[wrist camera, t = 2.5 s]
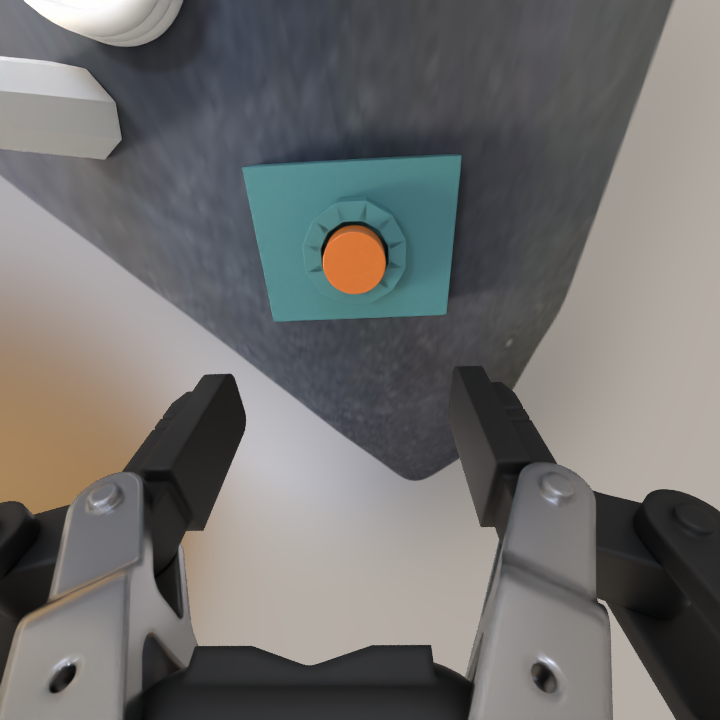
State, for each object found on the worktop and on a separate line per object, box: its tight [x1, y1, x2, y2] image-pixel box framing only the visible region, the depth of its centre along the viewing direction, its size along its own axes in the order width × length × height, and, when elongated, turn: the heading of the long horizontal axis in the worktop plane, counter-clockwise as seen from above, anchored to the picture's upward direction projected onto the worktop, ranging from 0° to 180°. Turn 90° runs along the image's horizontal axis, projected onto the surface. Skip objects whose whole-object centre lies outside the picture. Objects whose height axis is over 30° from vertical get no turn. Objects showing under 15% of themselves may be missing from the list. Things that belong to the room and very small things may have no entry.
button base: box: [242, 154, 462, 322], centre depth 25 cm, size 14×11×5 cm
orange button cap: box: [323, 225, 386, 294], centre depth 22 cm, size 4×4×2 cm
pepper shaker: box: [0, 56, 122, 160], centre depth 18 cm, size 5×5×11 cm
